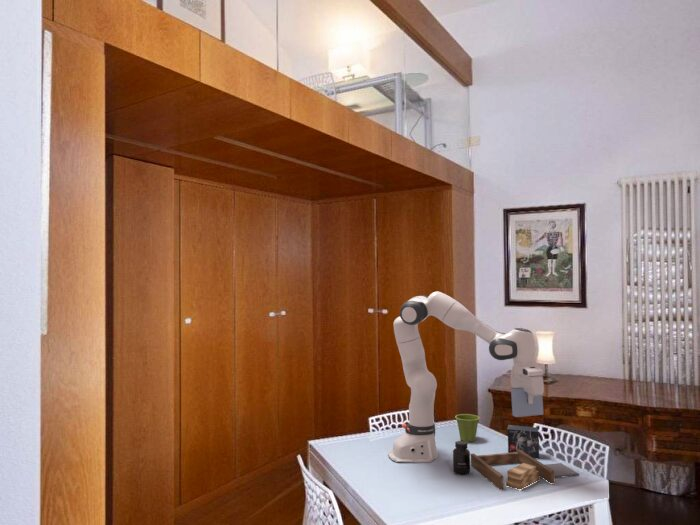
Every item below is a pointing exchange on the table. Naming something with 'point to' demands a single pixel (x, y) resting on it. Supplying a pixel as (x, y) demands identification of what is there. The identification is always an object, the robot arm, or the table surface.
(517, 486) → the offcut stack
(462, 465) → the supplement bottle
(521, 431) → the small box
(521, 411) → the gray block
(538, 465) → the walnut rack
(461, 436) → the plant pot
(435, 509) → the table surface
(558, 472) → the charcoal mat
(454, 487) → the table surface
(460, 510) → the table surface
